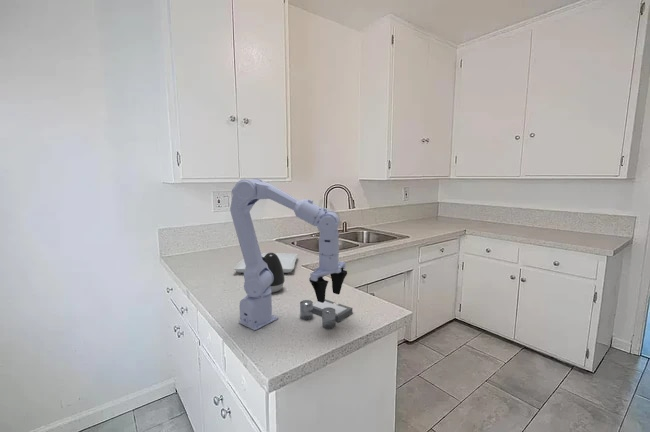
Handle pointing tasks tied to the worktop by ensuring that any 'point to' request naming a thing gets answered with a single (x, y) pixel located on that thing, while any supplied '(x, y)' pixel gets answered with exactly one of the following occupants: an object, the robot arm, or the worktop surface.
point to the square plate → (285, 259)
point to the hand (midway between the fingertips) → (328, 297)
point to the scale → (340, 310)
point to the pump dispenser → (275, 271)
